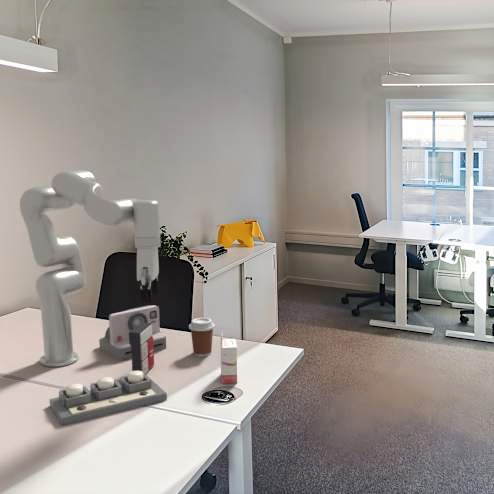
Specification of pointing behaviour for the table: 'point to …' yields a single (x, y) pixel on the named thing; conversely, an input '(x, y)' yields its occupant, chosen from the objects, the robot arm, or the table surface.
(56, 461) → the table surface
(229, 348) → the ink cartridge box
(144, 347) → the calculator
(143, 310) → the instant camera
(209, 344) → the coffee cup
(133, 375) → the button
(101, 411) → the switch panel
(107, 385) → the button
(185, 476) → the table surface
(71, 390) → the button
